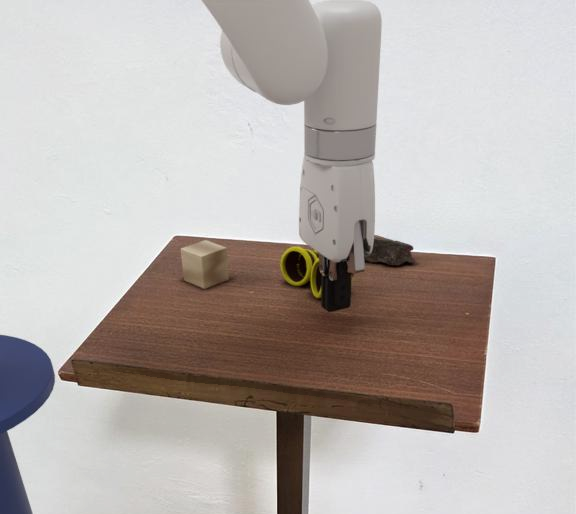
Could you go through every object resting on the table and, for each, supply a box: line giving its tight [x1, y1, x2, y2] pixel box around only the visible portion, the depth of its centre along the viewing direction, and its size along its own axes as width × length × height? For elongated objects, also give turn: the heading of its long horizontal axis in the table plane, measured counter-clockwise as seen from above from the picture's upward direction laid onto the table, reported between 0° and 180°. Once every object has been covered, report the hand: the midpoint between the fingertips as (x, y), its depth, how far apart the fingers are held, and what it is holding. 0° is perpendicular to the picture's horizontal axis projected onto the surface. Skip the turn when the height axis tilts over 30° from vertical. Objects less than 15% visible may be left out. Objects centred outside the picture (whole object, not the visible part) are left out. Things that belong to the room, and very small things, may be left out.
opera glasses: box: [279, 245, 354, 299], centre depth 97 cm, size 10×5×5 cm, turn 36°
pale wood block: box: [180, 239, 230, 290], centre depth 100 cm, size 4×4×4 cm
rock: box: [364, 234, 416, 266], centre depth 105 cm, size 12×7×5 cm, turn 57°
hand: (335, 307), depth 90 cm, fingers closed
